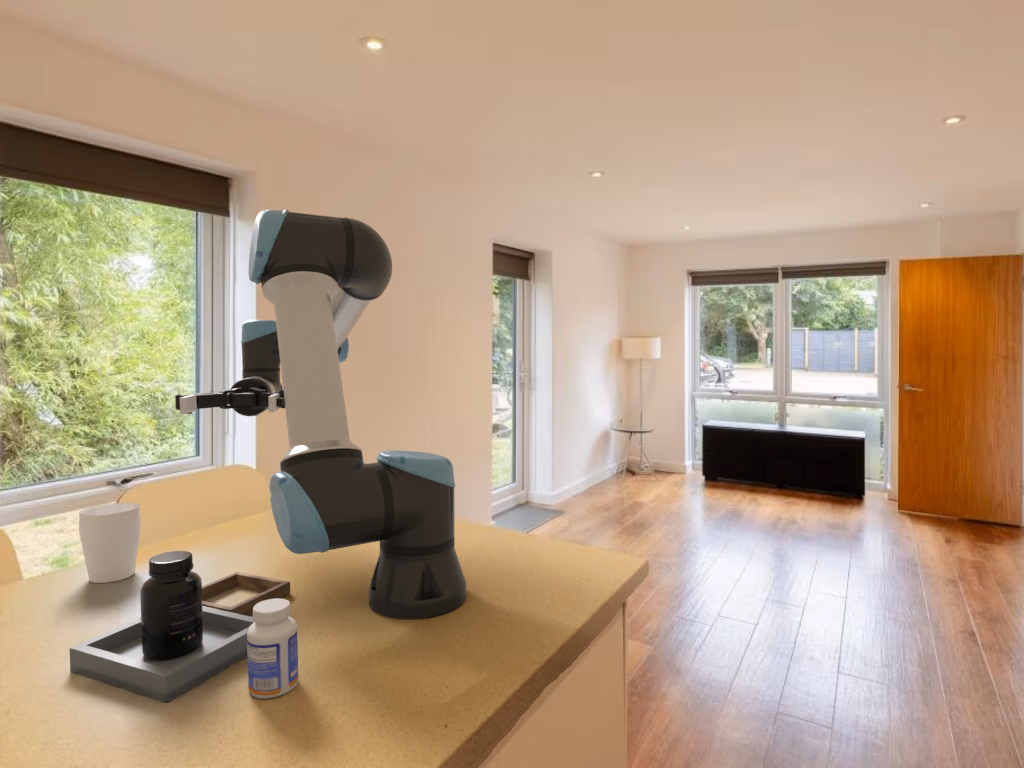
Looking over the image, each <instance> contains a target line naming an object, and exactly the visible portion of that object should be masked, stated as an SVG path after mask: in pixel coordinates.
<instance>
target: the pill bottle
mask: <svg viewBox="0 0 1024 768" xmlns="http://www.w3.org/2000/svg"><path fill="white" fill-rule="evenodd" d="M291 612H292V611H291V602H290V601H289V600H287V599H285V598H281V599H280V598H277V599H269V600H264V601H261V602H259V603H257V604H256V605H255V606H254V607H253V613H252V617H253V620H254V623H253V624H252V625H251V626H250V627H249V629H248V631H247V655H248V656H247V677H248V678H247V684H248V692H249V693H250V695H251V697H253V698H257V699H261V700H262V699H263V700H264V699H265V700H267V699H273V698H277V697H280V696H283V695H285V694H288V693H289V692H291V691H292V690H294V689H295V688H296V687H297V685H298V682H299V648H298V647H299V644H298V625H297V621H296V620H295V619H294V618H293V617H292V616H290V615H291Z"/></svg>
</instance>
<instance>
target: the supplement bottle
mask: <svg viewBox="0 0 1024 768" xmlns="http://www.w3.org/2000/svg"><path fill="white" fill-rule="evenodd" d="M193 561H194V560H193V553H192V552H190V551H189V550H187V551H185V550H174V551H166V552H162V553H158V554H155V555H154V556H152V557H150V558H149V561H148V575H149V576H150V578H148V579H146V580H145V582H143V584H142V585H141V587H140V593H139V594H140V595H139V596H140V618H141V635H142V652H143V655H144V656H145V657H146V658H148V659H151V660H170V659H175V658H179V657H182V656H185V655H187V654H189V653H191V652H193V651H194V650H196V649H197V648H198V647H199V646H200V645H201V643H202V640H203V614H202V586H203V582H202V578H201V576H200V574H198V573H197V572H195V571H193V569H194V562H193Z"/></svg>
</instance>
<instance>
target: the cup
mask: <svg viewBox="0 0 1024 768" xmlns="http://www.w3.org/2000/svg"><path fill="white" fill-rule="evenodd" d="M78 517H79V520H78V533H79V538H80V543H81V547H82V552H83V556H84V563H85V566H86V571H87V575H88V579H89V580H88V581H90V582H91V583H94V584H105V583H106V584H107V583H108V582H109V583H115V582H119V581H123V580H125V579H127V578H129V577H131V576H133V575H134V574H135V573H136V566H137V557H138V551H139V542H140V533H141V526H142V518H141V509H140V504H139V503H135V502H117V503H115V502H114V503H107V504H101V505H95V506H90V507H88V508H84V509H82V510H80V511H79V515H78ZM122 579H123V580H122ZM114 581H115V582H114Z"/></svg>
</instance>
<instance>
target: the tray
mask: <svg viewBox="0 0 1024 768" xmlns="http://www.w3.org/2000/svg"><path fill="white" fill-rule="evenodd" d="M202 614H203V640H202V643H201V645H200V646H199V647H198V648H197V649H196V650H194V651H193V652H191V653H189V654H187V655H185V656H182V657H179V658H175V659H170V660H151V659H148V658H146V657H145V656H144V655H143V652H142V635H141V617H140V618H137V619H135V620H132V621H131V622H127V623H125V624H123V625H120V626H118V627H116V628H114V629H111V630H108V631H107V632H104V633H102V634H99V635H96V636H94V637H92V638H89V639H88V640H84V641H82V642H80V643H78V644H75V645H73V646H71V647H69V648H68V649H69V669H70V671H69V672H70V673H71V674H72V673H73V674H75V675H78V676H81V677H85V678H88V679H91V680H94V681H98V682H101V683H104V684H107V685H110V686H113V687H116V688H120V689H123V690H126V691H128V692H132V693H136V694H138V695H141V696H144V697H147V698H150V699H153V698H154V700H156V701H159V700H160V702H163V703H166V704H168V703H170V702H172V701H173V700H174V699H176V698H178V697H180V696H182V695H183V694H185V693H187V692H189V691H191V690H192V689H193V687H194V688H196V687H197V686H199V685H200V683H201V684H202V683H204V682H206V681H207V680H210V679H211V678H213V677H214V676H216V675H218V674H220V673H221V672H224V671H225V670H227V669H228V668H230V667H232V666H233V665H235V664H237V663H238V661H239V662H240V661H243V659H245V658H248V655H247V631H248V629H249V627H250V626H251V625H252V624H253V623H254V620H253V616H250V615H247V616H246V615H241V614H237V613H232V612H228V611H223V610H219V609H214V608H210V607H205V606H202ZM236 662H237V663H236ZM231 665H232V666H231ZM188 690H189V691H188ZM186 691H187V692H186Z"/></svg>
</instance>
